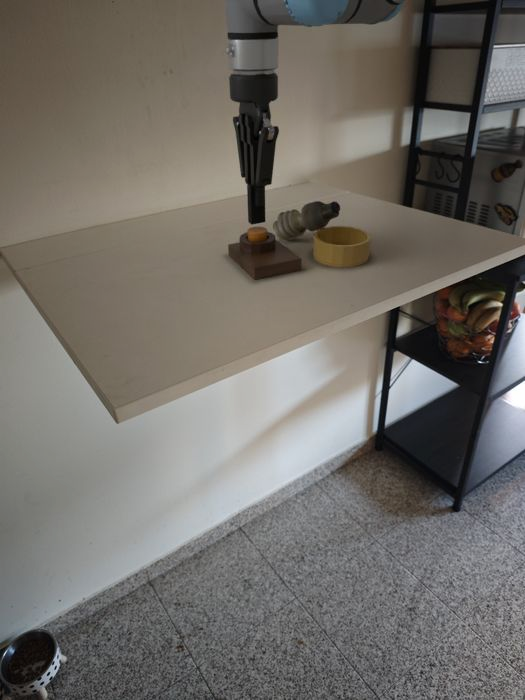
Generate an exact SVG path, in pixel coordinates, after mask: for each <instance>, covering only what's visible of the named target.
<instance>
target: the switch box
mask: <svg viewBox="0 0 525 700" xmlns="http://www.w3.org/2000/svg"><path fill="white" fill-rule="evenodd" d="M276 237H277V235H276V234H275V233H273V232H270V231H267V240H265V241H250V240H248V233H247V231H246V232H244V233H242V234H240V236H239V239H238V240H239V241H238V242H234V243H228V244H227V247H228V250H227V251H228V256H229V257H230V258H231V259H232V260H233V261H234V262H235V263H236V264H237V265H238V266H239V267H240V268H242V269H243V270H244V271H245V272H246V273H247V275H249V276H250V277H251V278H252V279H253V280H254V281H257V280H262V279H266V278H271V277H275V276H279V275H285V274H288V273H293V272H297V271H302V257H301V256H299V255H297V254H296V253H294V251H292V250H291V249H289V248H288V247H286V246H285V245H284V244H283V243H281V242H280V241H278V240H277V239H276Z"/></svg>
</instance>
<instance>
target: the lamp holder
mask: <svg viewBox="0 0 525 700" xmlns="http://www.w3.org/2000/svg"><path fill="white" fill-rule="evenodd" d="M371 242H372V236H371V234H370V233H369V232H368V231H367V230H365V229H362V228H360V227H356V226H350V225H349V226H346V225H331V226H325V227H324V228H322V229H319V230H316V231H314V233H313V249H312V250H313V252H312V254H313V255H312V256H313V259H314V260H315V261H316V262H318V263H319V264H322V265H325V266H328V267H333V268H353V267H358V266H361V265H364V264H365V263H366V262H367V261H369V256H370V252H371Z"/></svg>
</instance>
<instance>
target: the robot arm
mask: <svg viewBox="0 0 525 700" xmlns="http://www.w3.org/2000/svg"><path fill="white" fill-rule="evenodd" d="M224 1H225V16H226V17H225V18H226V19H225V20H226V33H227V47H226V48H225V54H226V55H227V56H228V69H229V70H230V71H232V72H233V73H231V74H230V75H229V76H228V82H229V99H230V100H231V101H232V102H233V103H238V104H239V105H238V106H239V107H238V116H233V117H232V123H233V128H234V132H235V138H236V144H237V147H236V148H237V154H238V162H239V170H240V177H241V178H242V179H243V178H244V182H245V184H246V192H247V194H246V195H247V221H248V223H249V224H250V225H257V224H263V223H266V187H267V186H268V185H269V186H270V185H272V184H273V174H274V164H275V154H276V145H277V140H278V137H279V135H280V129H279V126H278V125H273V124H272V122H271V121H272V120H271V119H272V113H271V109H270V103H272V102H275V101H277V99H278V98H279V75H278V74H277V73H276V72H275V70H277V69H278V68H279V30H278V29H279V26H295V27H296V26H297V27H300V26H302V27H303V26H304V27H307V28H312V27H323V26H326V25H330V26H331V25H368V26H369V25H370V26H371V25H376V24H379V23H384V22H388V21H390V20H392V19H393V18H395V17H396V16H397V15H398V14H399V12H400V11H401V9H402V7H403V6H404V4H405V2H406V1H407V0H224Z"/></svg>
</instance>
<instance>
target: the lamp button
mask: <svg viewBox="0 0 525 700" xmlns="http://www.w3.org/2000/svg"><path fill="white" fill-rule="evenodd" d="M246 232H247V233H248V240H250V241H265V240H267V232H268V228H266V227H264V226H251V227H248V228H247V230H246Z"/></svg>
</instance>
